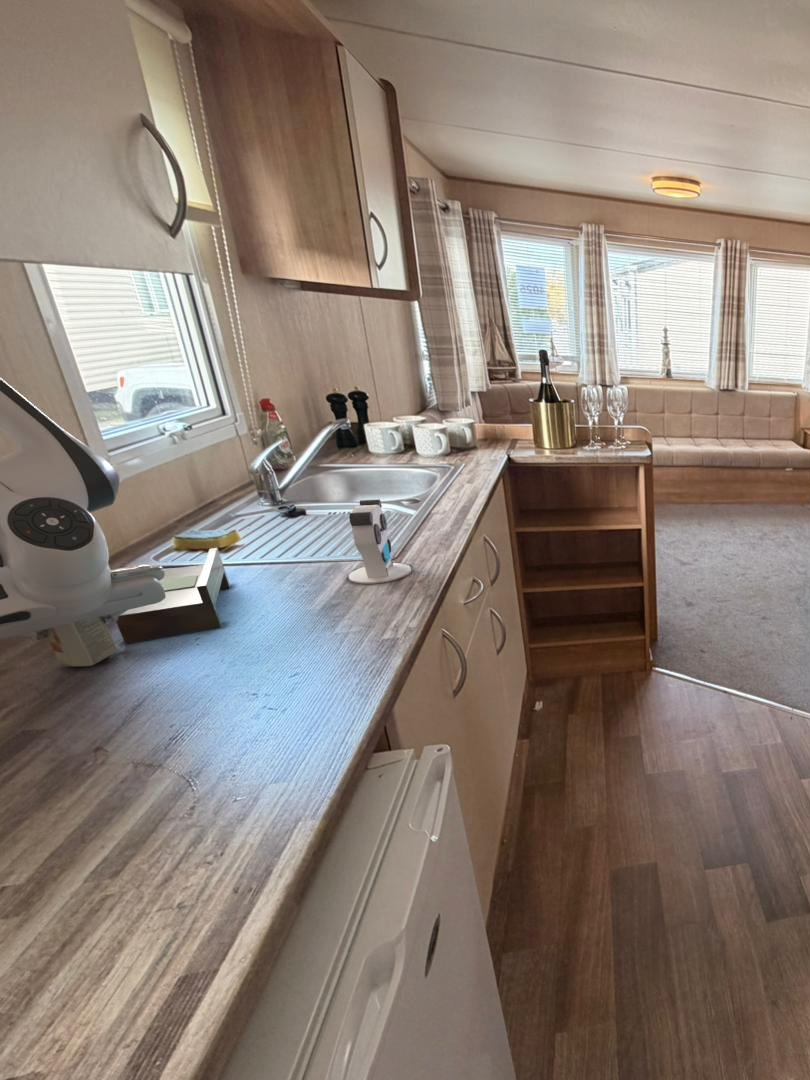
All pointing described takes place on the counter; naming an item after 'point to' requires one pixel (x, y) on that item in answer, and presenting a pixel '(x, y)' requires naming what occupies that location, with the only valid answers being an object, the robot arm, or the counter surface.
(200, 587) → the shelf
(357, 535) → the panda figurine
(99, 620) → the cream cardboard box
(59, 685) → the counter surface
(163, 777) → the counter surface
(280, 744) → the counter surface
